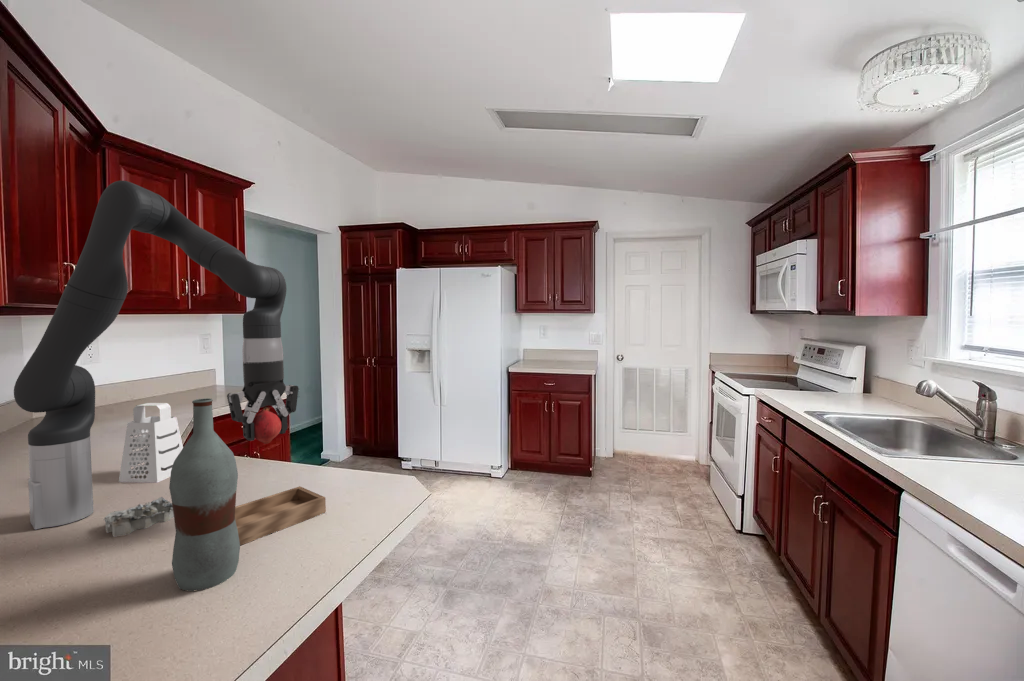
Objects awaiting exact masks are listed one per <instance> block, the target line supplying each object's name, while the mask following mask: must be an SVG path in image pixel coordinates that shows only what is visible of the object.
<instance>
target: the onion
mask: <svg viewBox="0 0 1024 681" xmlns="http://www.w3.org/2000/svg"><path fill="white" fill-rule="evenodd" d="M262 408H263V409H262V410H261V411H260V412H257V413H258V414H257V413H256V415H255V417H254V419H253V422H252V423H254V436H255V439H256V440H257V441H259V442H260V443H263V444H269V443H271V442H272V441H273V439H274V438H276V437H277V436H278V435H279V434H280V433H279V432H280V430H281V426H282V425H281V421H280V419H279V417H278V416H279V415H278V414H277V413H275V412H273V411H270V407H269V406H265V407H262ZM255 439H254V440H255Z"/></svg>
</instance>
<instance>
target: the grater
mask: <svg viewBox="0 0 1024 681" xmlns="http://www.w3.org/2000/svg"><path fill="white" fill-rule="evenodd" d="M146 406H149V407H150V406H154V407H155V406H156V407H157V408H158V409H159V416H152V415H151V416H148V417H147V416H146ZM171 407H172V406H171V405H170V404H169V403H168V402H146V403H142V404H138V405H135V406H134V408H133V409H132V411H133V412H132V413H133V414H132V415H133V420H132V421H128V422H127V423H126V430H125V437H124V444H123V451H122V458H121V464H120V471H119V478H118V483H143V484H144V483H151V484H152V483H153V484H154V483H157V484H158V483H159V482H162V481H164V480H166V479H168V478H169V479H170V476H171V470H172V466H173V463H174V461H175V459H176V458H177V456H178V455H179V453H180V452H181V450H182V449H183V447H184V445H183V440H182V437H181V432H180V427H179V421H178V418H177V416H172V408H171ZM135 436H136V437H135ZM142 463H144V464H142ZM132 467H133V468H132ZM146 472H147V473H146ZM136 476H137V477H136ZM140 476H141V478H140ZM144 476H145V477H144ZM135 477H136V478H135Z"/></svg>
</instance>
